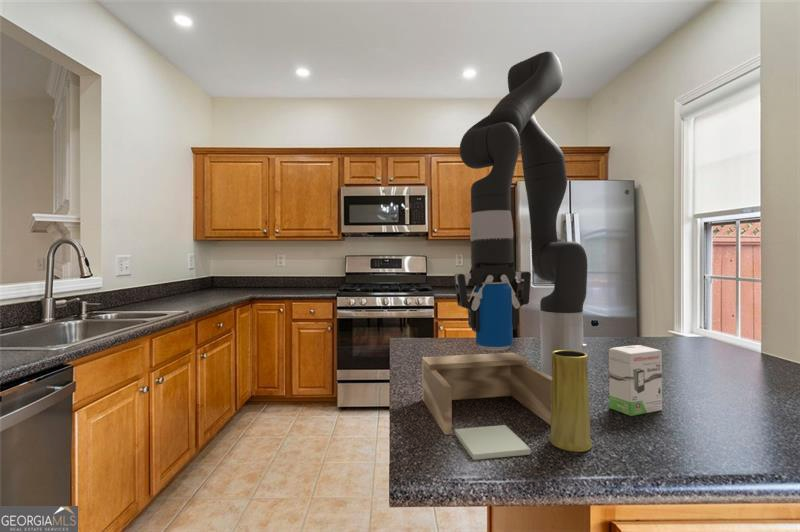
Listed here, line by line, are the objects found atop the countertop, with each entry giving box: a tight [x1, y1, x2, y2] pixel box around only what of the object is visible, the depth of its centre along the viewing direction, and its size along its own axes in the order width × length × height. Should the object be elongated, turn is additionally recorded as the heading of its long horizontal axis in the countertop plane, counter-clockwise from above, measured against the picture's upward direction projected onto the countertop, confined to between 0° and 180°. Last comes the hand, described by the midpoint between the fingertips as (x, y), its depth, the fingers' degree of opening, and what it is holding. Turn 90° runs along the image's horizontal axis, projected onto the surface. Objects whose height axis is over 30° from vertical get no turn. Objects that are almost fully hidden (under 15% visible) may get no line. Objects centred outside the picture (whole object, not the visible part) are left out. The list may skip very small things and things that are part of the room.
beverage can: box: [474, 282, 514, 352], centre depth 72 cm, size 6×6×12 cm
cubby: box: [421, 352, 552, 436], centre depth 77 cm, size 20×17×9 cm
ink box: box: [608, 344, 663, 417], centre depth 77 cm, size 9×5×12 cm, turn 110°
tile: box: [454, 424, 532, 461], centre depth 63 cm, size 9×9×1 cm
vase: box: [549, 350, 593, 453], centre depth 63 cm, size 6×6×14 cm
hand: (493, 329), depth 72 cm, fingers closed on beverage can, 6 cm apart
